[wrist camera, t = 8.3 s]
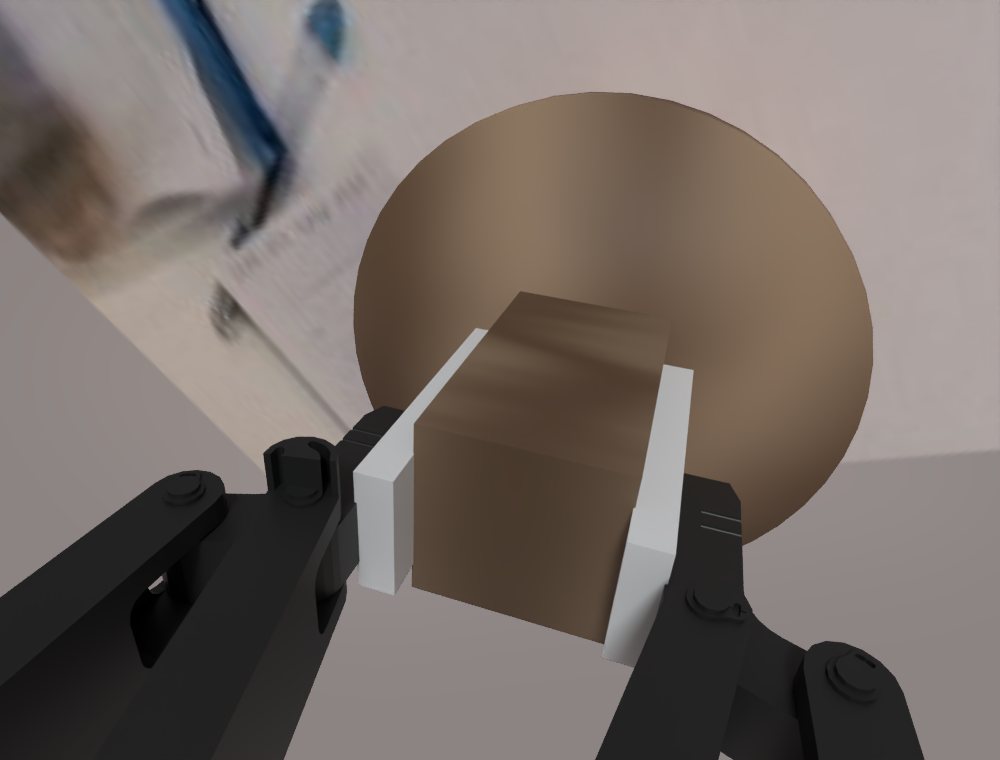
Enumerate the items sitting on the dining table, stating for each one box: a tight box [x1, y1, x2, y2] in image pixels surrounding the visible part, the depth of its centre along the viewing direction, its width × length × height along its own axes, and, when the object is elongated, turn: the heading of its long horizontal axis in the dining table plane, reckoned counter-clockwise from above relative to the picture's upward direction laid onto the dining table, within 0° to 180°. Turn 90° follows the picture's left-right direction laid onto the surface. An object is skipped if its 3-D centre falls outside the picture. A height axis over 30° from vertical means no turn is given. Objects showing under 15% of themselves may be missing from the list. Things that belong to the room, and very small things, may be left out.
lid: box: [354, 92, 873, 644], centre depth 15 cm, size 14×14×8 cm
